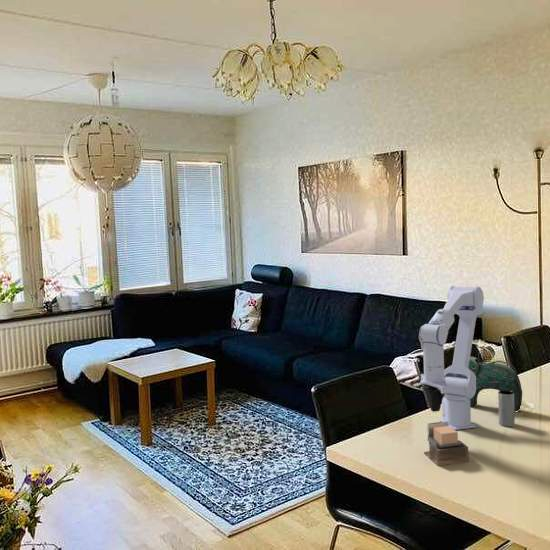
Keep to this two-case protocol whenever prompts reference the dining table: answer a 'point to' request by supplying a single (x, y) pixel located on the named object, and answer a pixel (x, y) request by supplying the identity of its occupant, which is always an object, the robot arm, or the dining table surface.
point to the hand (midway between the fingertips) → (435, 410)
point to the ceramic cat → (495, 379)
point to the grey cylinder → (506, 408)
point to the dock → (448, 454)
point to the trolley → (442, 435)
